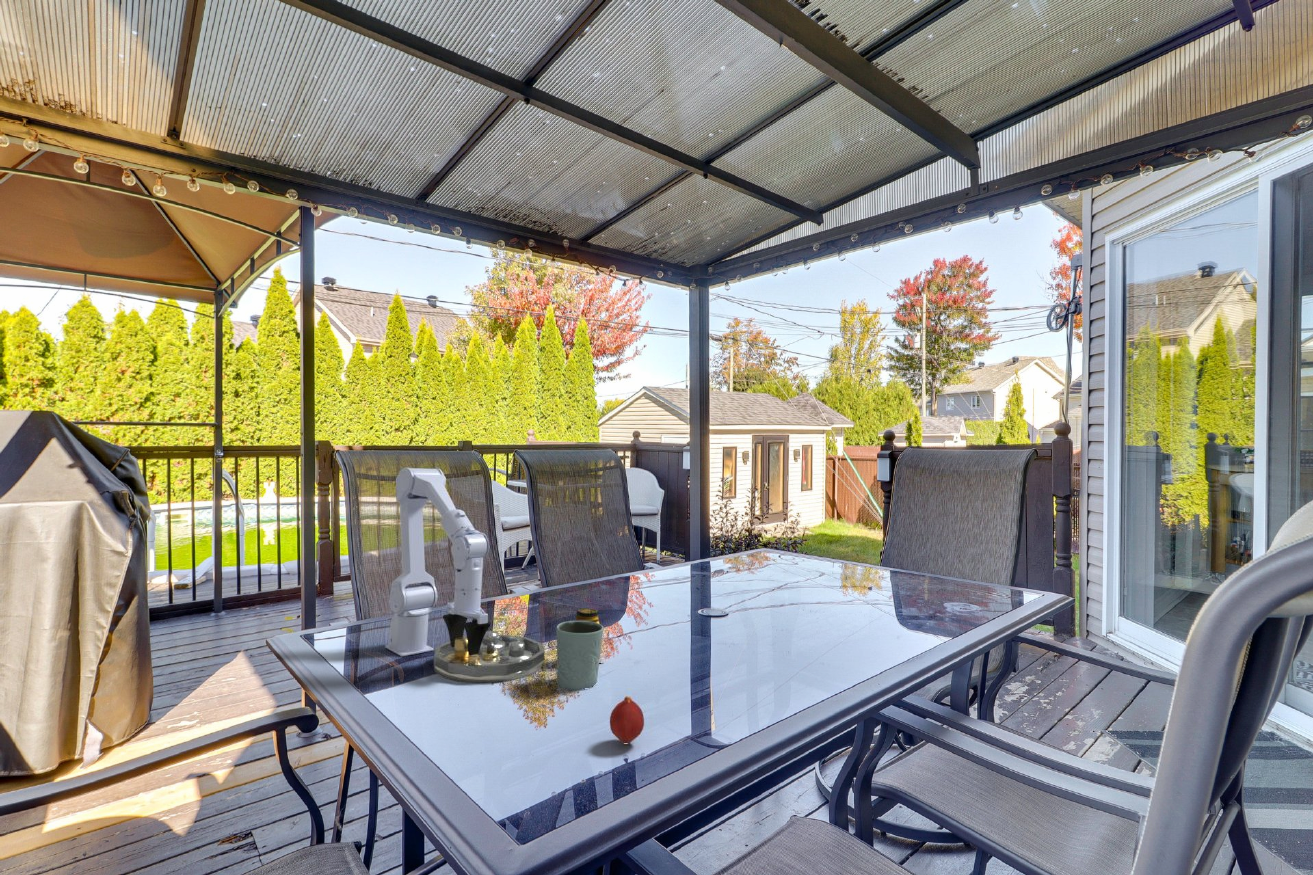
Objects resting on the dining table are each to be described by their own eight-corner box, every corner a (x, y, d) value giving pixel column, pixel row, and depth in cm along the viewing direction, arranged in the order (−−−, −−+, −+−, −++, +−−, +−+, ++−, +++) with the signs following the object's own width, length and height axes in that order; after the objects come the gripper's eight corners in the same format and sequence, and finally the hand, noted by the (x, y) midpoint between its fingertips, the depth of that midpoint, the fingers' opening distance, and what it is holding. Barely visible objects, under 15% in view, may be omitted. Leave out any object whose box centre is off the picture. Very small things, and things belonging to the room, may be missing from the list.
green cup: (581, 672, 140) (584, 618, 141) (611, 684, 133) (613, 627, 134) (544, 681, 133) (546, 624, 134) (572, 695, 126) (575, 635, 126)
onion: (608, 736, 108) (610, 688, 108) (642, 736, 108) (643, 689, 108) (609, 751, 102) (611, 701, 102) (644, 751, 102) (646, 701, 103)
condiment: (604, 663, 147) (606, 612, 148) (571, 668, 142) (574, 615, 143) (590, 655, 153) (592, 605, 154) (558, 659, 149) (561, 608, 149)
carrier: (415, 661, 142) (416, 637, 143) (506, 643, 160) (507, 621, 160) (468, 691, 126) (469, 663, 126) (563, 667, 143) (565, 643, 143)
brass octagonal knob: (439, 662, 138) (441, 637, 138) (469, 657, 143) (470, 632, 143) (453, 671, 133) (454, 645, 133) (483, 665, 137) (485, 640, 138)
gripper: (435, 584, 141) (432, 645, 140) (468, 596, 131) (464, 661, 130) (464, 581, 146) (461, 640, 145) (497, 592, 136) (494, 655, 135)
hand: (464, 650), depth 138 cm, fingers open, 7 cm apart
